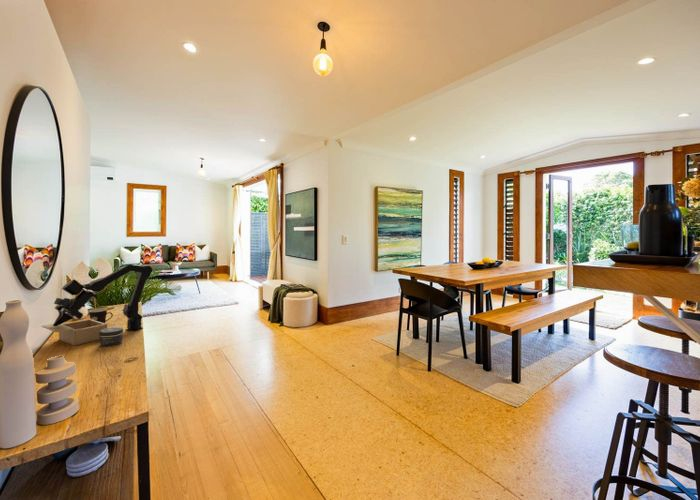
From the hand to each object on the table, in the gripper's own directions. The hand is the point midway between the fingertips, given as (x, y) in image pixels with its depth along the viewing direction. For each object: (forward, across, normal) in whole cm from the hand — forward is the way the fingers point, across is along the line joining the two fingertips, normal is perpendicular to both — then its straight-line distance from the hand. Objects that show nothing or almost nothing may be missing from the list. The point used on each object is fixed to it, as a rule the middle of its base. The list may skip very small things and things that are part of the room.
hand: (54, 325), depth 159 cm
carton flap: (-2, 0, +4) cm, 5 cm away
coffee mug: (-12, -18, +27) cm, 35 cm away
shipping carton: (-1, 0, +16) cm, 16 cm away
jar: (-4, +21, +19) cm, 28 cm away
